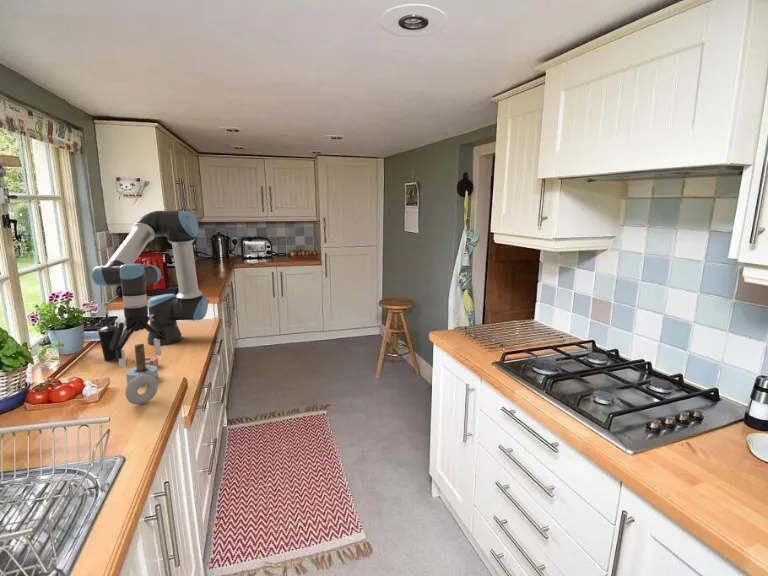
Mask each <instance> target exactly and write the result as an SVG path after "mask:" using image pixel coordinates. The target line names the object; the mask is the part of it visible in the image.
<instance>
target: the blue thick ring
mask: <svg viewBox="0 0 768 576" xmlns="http://www.w3.org/2000/svg"><path fill="white" fill-rule="evenodd" d="M143 374H146V375H151V376H153V377H154V378H155V379H156V380H158V379H159V377H158V375H159V374H158V367H156V366H153V365H146V371H144V372H137V367H136V366H135V367H132V368H129V369H127V370H125V375H126V384H127V385H128V384H129V382H130V381H131V380H132V379H133V378H135V377H137V376H139V375H143Z"/></svg>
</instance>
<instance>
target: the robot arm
mask: <svg viewBox="0 0 768 576" xmlns="http://www.w3.org/2000/svg"><path fill="white" fill-rule="evenodd" d="M130 230H131V231H130V232H129V234H128V235H127V237H126V238H125V240H124V241H123V242H122V244H121V245H120V246H119V247H118V248H117V250H116V251H115V253H114V254H113V255H112V256H111V258H110V259H109V261H108V262H107V263H106V264H105V265H98V266H95V267H94V268H93V269H92V273H91V278H92V281H93V283H94V284H96V285H97V286H105V287H106V286H107V287H110V286H111V287H112V286H116V287H117V286H120V287H121V294H122V303H123V304H122V305H123V307H124V308H123V314H124V315H123V316H124V318H125V319H124V321H117V322H116V323H115V326H116V330H115V332H114V335H113V338H112V340H111V343H110V346H109V349H111V350H115V352H116V358H117V359H116V360H118V364H119V365H118V366H119V367H121V368H126V367H127V363H126V361H127V360H126V355H125V354H126V352H125V349H123V348H124V346H125V344H126V343H127V341H128V340H129V338H130V337H131V335H132V334H134V332H138V331H142V330H146V331H147V332H148V335H147V344H149V345H153V347H154V356H157V357H159V356H161V357H162V351H161V350H162V345H163V346H165V345H171V344H175V343H178V342H180V341H182V339H183V336H182V333H181V330H180V329H179V326H178V322H177V321H193V322H195V321H202V320H203V319H204V318H205V317H206V315H207V312H208V307H209V300H208V298H207V297H206V296H203V292H202V291H201V290H199V284H198V277H197V269H196V261H195V253H194V246H193V243H194V241H195V240H196V237H197V236H198V235H199V223H198V219H197V218H196V216H195V215H194V213H193V212H191V211H187V210H186V211H184V210H154V211H151V212H149V213H145V214H144V215H142V216H141V217H140V218H138V219H137V220H136V221H135V222H134V223H133V225H132V226H131V229H130ZM157 237H167V242H169V243H170V244H171V246H172V252H173V258H174V261H173V262H174V266H175V267H174V268H175V272H176V273H175V274H176V280H177V285H178V293H177V294H176V295H175V293H164V294H160V295H155V296H151V297H150V298H148V295H147V288H146V287H147V286H150V285H155V284H156V283H158V282H159V281H160V280H161V278H162V271H161V269H160V268H159V267H158V266H156V265H154V264H153V265H152V264H145V265H143V264H142V263H135V262H136V261H137V259H138V258H139V256H140V255H141V254H142V252H143V250H144V249H145V248H146V246H147V245H148V243H149V242H151V241H153V240H154V239H155V238H157ZM147 298H148V299H147ZM147 304H148V305H147Z"/></svg>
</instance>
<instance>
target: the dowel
mask: <svg viewBox="0 0 768 576" xmlns="http://www.w3.org/2000/svg"><path fill="white" fill-rule="evenodd" d="M145 353H146V352H145V345H144V343H137V344H134V354H135V355H134V356H135V360H136V366H135V367H137V372H144V371H146V362H145V357H146V354H145Z"/></svg>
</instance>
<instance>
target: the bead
mask: <svg viewBox="0 0 768 576" xmlns="http://www.w3.org/2000/svg"><path fill="white" fill-rule="evenodd" d="M158 357H159V356H157V355H149V356H146V355H145V362H146V365H153V366H156V367H157V368H158V367H159V358H158ZM134 364H135V367H136V359H135V360H134Z"/></svg>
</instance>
